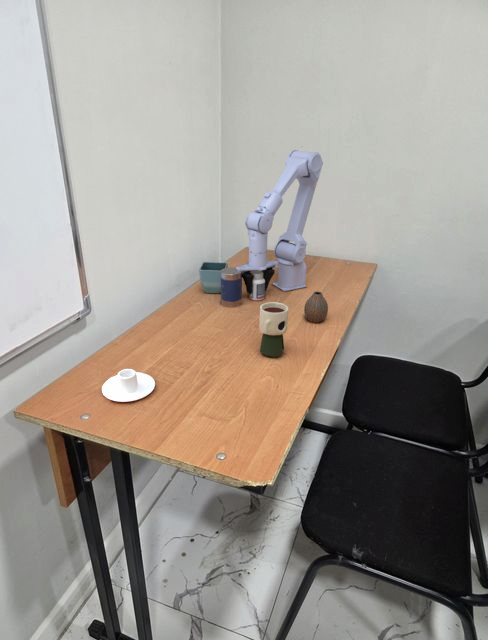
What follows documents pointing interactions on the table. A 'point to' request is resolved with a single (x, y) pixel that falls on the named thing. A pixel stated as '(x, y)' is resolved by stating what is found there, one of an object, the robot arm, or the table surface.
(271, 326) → the character mug
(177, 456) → the table surface
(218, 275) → the flower pot
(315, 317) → the vase
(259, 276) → the pill bottle
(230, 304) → the tin can
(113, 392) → the candle holder
